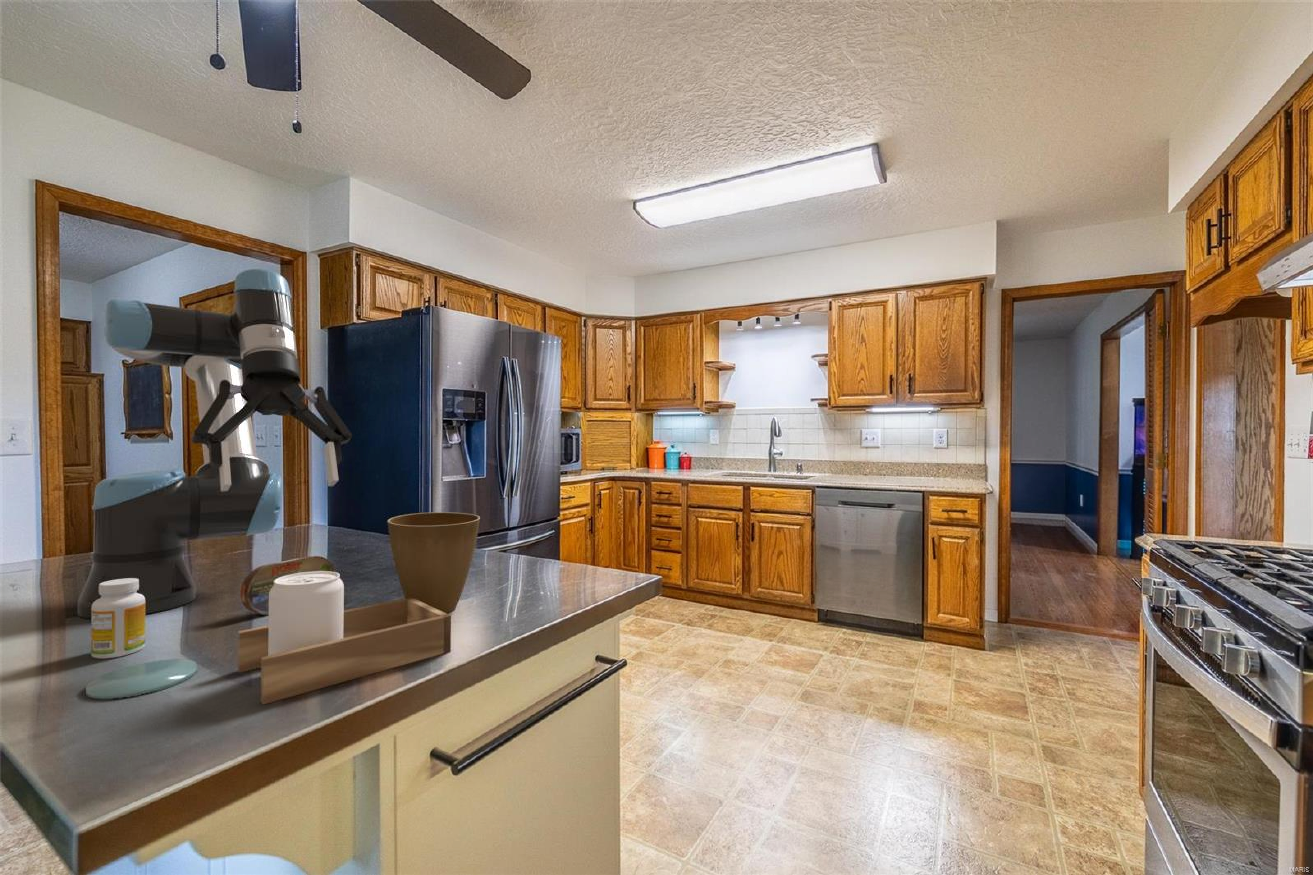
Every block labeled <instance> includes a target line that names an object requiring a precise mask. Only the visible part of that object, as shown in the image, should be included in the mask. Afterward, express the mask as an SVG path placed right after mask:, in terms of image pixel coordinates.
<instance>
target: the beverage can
mask: <svg viewBox="0 0 1313 875" xmlns="http://www.w3.org/2000/svg"><path fill="white" fill-rule="evenodd" d="M340 577H341V576H340V573H339V572H337V571H335V572H331V571H312V572H302V573H296V574H290V575H286V576H283V577H280V578H277V579H276V580H274V586H273V587H272V588H271V590H270V592H269V615H268V625H269V633H268V656H269V655H273V654H278V653H282V652H286V651H291V650H295V649H299V648H304V647H308V646H312V645H317V644H321V643H325V642H330V641H334V640H338V639H343V619H344V610H345V608H344V600H345V599H344V598H345V597H344V596H345V585H344V581H343V580H342V579H341V578H340Z"/></svg>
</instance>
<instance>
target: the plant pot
mask: <svg viewBox="0 0 1313 875" xmlns="http://www.w3.org/2000/svg"><path fill="white" fill-rule="evenodd" d="M480 520H481V517H480V515H477V514H471V513H466V512H465V513H463V512H447V511H446V512H443V511H442V512H441V511H439V512H420V513H419V512H418V513H409V514H403V515H397V516H394V517H391V518H389V519H387V521H386V522H387V528H388V534H389V541H390V547H391V553H392V558H393V561H394V566H395V570H396V575H397V578H398V580H399V584H400V585H399V586H400V587H401V590H402V593H403V596H404V598H409V597H412V598H414V599H416V600H418V601H420V602H423V603H425V604H427V605H429V606H431V607H433V608H435V609H438V610H440V611H442V612H444V613H446V614H448V613H450V612H453V611H455V609H456V608H457V607H458V603H459V601H460V598H461V596H462V593H463V591H464V588H465V586H466V585H465V584H466V582H467V579H468V576H469V572H470V568H471V565H472V562H473V558H474V553H475V548H476V544H477V538H478V535H479V534H478V533H479V527H480V522H481V521H480Z"/></svg>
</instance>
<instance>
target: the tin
mask: <svg viewBox="0 0 1313 875" xmlns="http://www.w3.org/2000/svg"><path fill="white" fill-rule="evenodd" d="M312 571H331V572H336V571H335V568H334V565H333V564H332V563H331V561H330V560H329V559H328V558H326V557H324V556H321V555H320V556H318V555H313V556H302V557H298V558H297V557H296V558H293V559H287V560H284V561H279V562H273V563H268V564H264V565H263V564H262V565H261V566H257V567H256V568H254V569H253V570H252V571H250V573H248V574H247V576H246V577H245V578H244V579H243V582H242V583H241V589H240V598H241V603H242V605H243V606H244V608H246V609H247V610H249V612H251V613H254V614H257V615H262V616H269V592H270V590H271V588H272V587H273V586H274V580H276V579H277V578H280V577H283V576H286V575H290V574H296V573H302V572H312Z"/></svg>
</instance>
